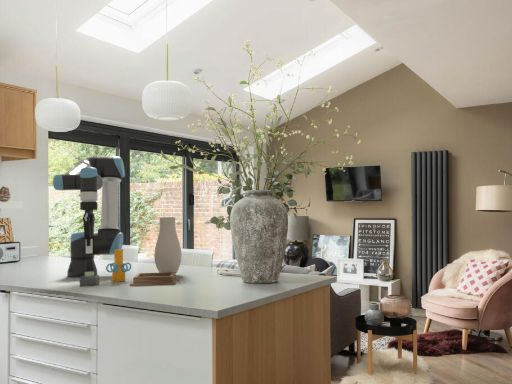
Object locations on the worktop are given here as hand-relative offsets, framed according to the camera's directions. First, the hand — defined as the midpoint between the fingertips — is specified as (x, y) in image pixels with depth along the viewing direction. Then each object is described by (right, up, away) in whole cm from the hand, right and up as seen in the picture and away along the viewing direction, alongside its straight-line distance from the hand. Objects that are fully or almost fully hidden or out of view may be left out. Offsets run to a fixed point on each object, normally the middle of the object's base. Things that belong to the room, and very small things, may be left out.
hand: (89, 253), depth 232 cm
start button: (0, -12, 0) cm, 12 cm away
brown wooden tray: (+29, -14, +5) cm, 33 cm away
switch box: (0, -15, 0) cm, 15 cm away
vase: (+31, -15, +30) cm, 46 cm away
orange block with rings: (+10, -15, +13) cm, 22 cm away
